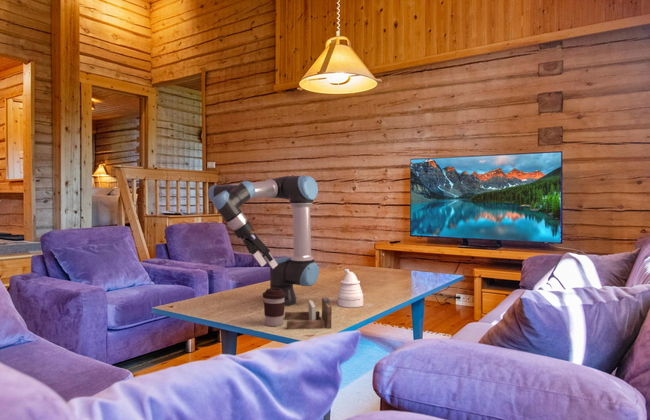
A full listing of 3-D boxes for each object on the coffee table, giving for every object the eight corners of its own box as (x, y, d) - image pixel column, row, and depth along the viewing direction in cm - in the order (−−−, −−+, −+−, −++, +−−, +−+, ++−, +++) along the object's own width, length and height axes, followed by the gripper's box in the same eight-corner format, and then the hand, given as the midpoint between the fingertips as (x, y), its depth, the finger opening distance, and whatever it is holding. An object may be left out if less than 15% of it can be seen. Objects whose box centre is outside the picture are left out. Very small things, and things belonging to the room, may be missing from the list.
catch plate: (311, 325, 194) (312, 306, 193) (308, 318, 206) (308, 300, 205) (315, 325, 194) (315, 306, 194) (312, 318, 206) (312, 300, 206)
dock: (287, 329, 190) (287, 304, 189) (284, 318, 206) (284, 295, 206) (332, 328, 192) (332, 303, 192) (326, 317, 209) (326, 295, 209)
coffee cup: (286, 321, 202) (286, 287, 202) (285, 327, 193) (285, 291, 192) (263, 321, 202) (263, 287, 202) (261, 327, 192) (261, 291, 192)
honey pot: (341, 307, 226) (341, 271, 226) (335, 302, 239) (335, 267, 239) (366, 306, 229) (366, 270, 229) (358, 301, 242) (358, 267, 242)
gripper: (225, 231, 200) (253, 269, 205) (242, 230, 178) (273, 273, 183) (238, 220, 203) (266, 258, 208) (257, 219, 180) (287, 261, 185)
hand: (269, 265), depth 195 cm, fingers open, 13 cm apart
